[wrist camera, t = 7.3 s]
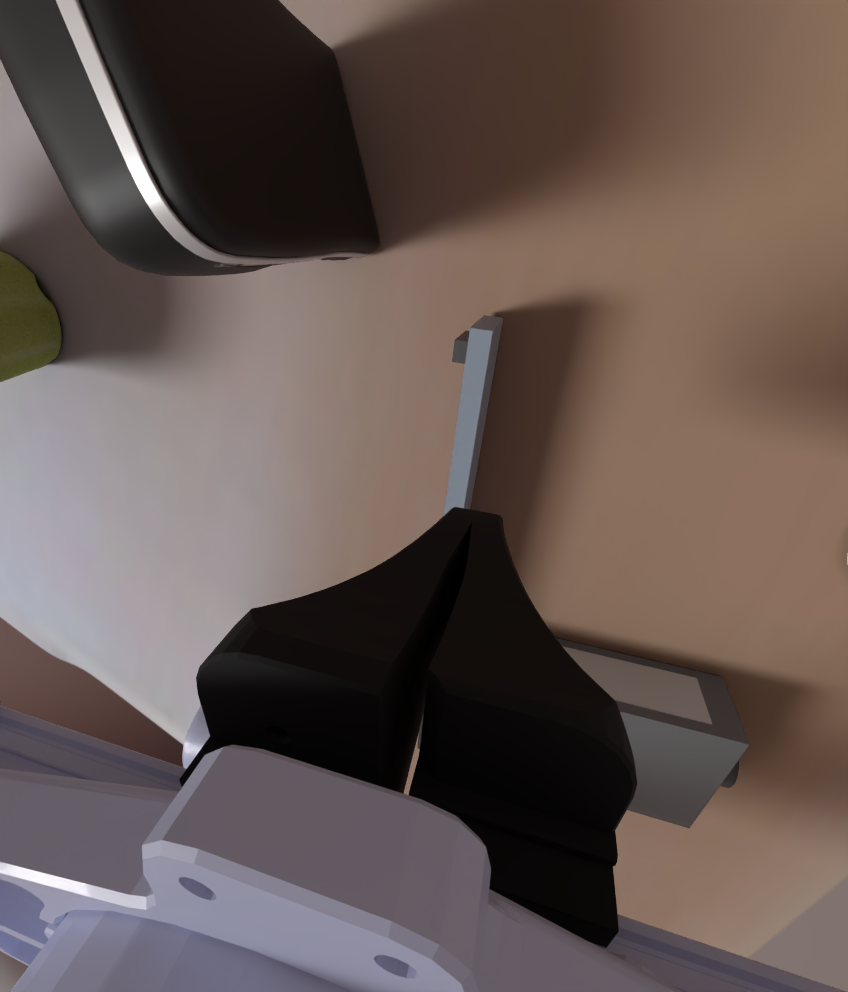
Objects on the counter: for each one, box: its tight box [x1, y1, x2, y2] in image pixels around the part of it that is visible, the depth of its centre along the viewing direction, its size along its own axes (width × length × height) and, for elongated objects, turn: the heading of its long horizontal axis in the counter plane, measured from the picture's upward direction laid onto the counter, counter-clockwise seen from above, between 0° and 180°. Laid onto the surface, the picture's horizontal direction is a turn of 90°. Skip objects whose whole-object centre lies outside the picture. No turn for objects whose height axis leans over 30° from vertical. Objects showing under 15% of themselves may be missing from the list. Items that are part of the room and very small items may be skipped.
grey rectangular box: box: [418, 638, 750, 828], centre depth 26 cm, size 17×8×4 cm, turn 86°
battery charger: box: [0, 0, 380, 276], centre depth 13 cm, size 7×4×11 cm, turn 14°
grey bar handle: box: [444, 315, 503, 515], centre depth 21 cm, size 17×2×4 cm, turn 174°
